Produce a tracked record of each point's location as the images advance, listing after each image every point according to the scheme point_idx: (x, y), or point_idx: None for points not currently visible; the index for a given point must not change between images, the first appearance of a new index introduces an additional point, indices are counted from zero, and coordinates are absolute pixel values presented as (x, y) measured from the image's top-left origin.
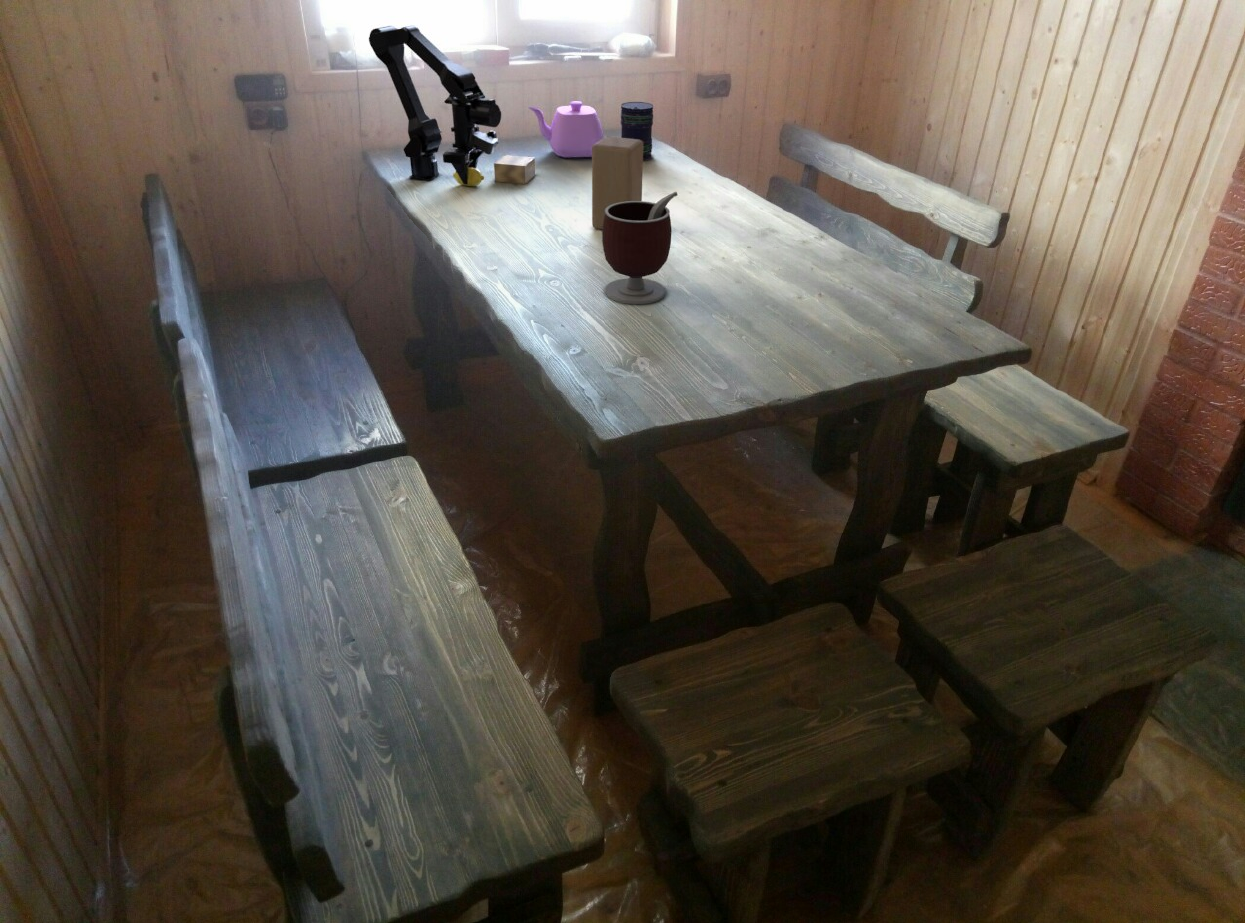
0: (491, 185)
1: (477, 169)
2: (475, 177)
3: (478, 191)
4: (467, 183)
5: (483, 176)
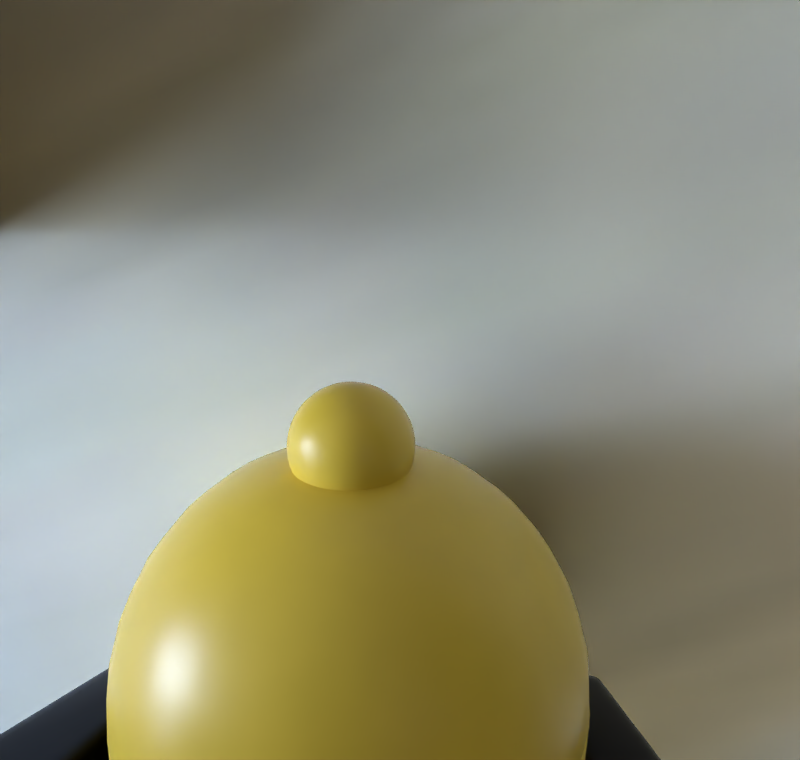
0: (251, 213)
1: (244, 717)
2: (552, 598)
3: (757, 352)
4: None
5: (344, 411)
